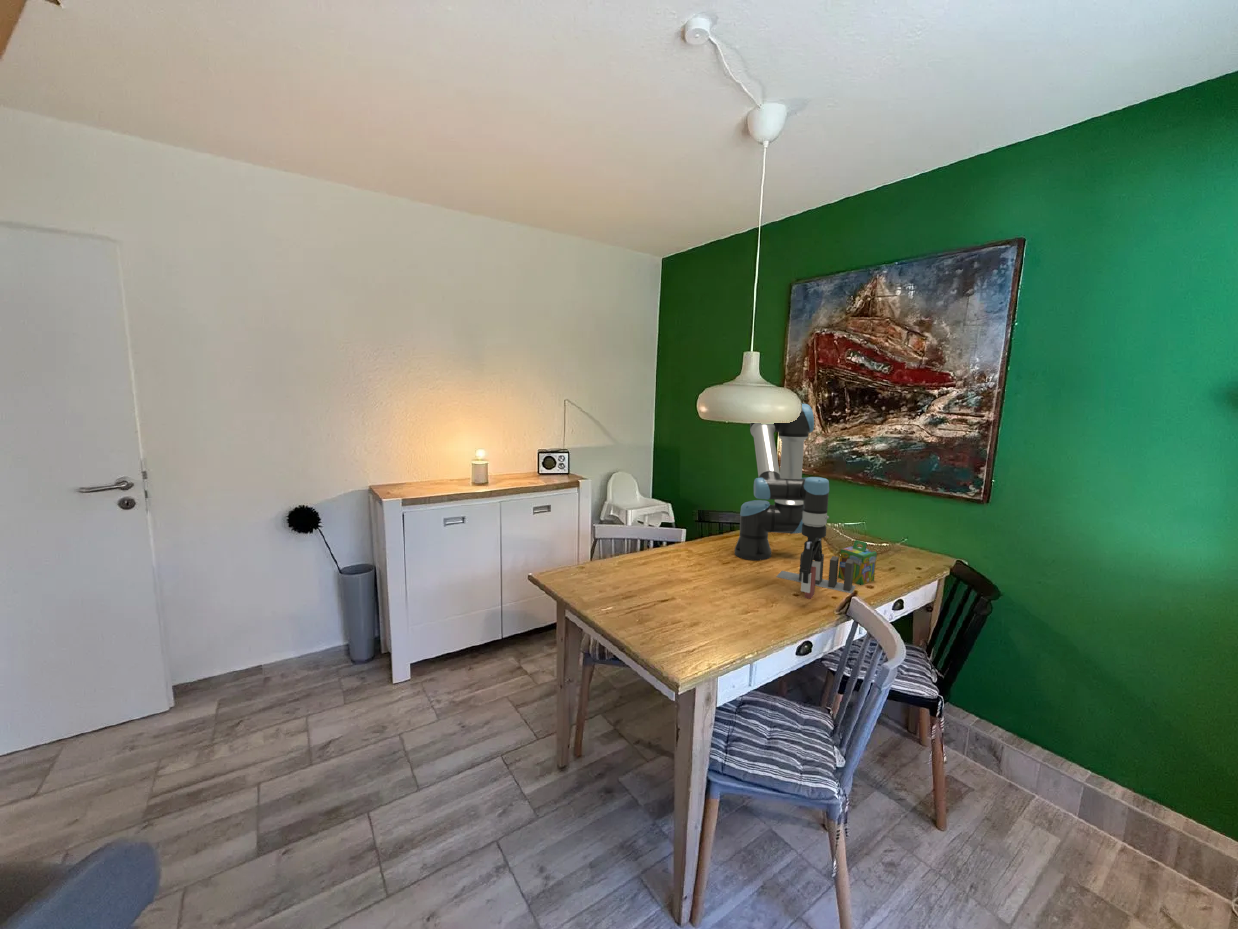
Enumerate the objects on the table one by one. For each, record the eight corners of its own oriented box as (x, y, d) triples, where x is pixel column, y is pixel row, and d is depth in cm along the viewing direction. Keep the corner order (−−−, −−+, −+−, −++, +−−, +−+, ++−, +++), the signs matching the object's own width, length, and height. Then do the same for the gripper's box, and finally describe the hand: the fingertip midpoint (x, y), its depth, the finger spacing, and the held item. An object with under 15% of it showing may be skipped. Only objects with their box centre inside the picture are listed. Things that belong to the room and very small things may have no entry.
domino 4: (828, 586, 168) (830, 559, 167) (830, 582, 172) (832, 555, 171) (834, 588, 167) (836, 560, 165) (836, 583, 171) (838, 557, 170)
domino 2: (804, 598, 159) (806, 570, 157) (808, 593, 163) (810, 566, 162) (810, 600, 158) (812, 571, 156) (814, 595, 162) (816, 567, 160)
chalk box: (837, 578, 177) (840, 540, 175) (851, 573, 182) (854, 536, 180) (861, 587, 169) (864, 547, 167) (875, 581, 174) (878, 543, 172)
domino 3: (813, 583, 171) (815, 556, 169) (816, 579, 175) (818, 553, 174) (819, 584, 170) (820, 558, 168) (822, 580, 174) (824, 554, 172)
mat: (775, 577, 177) (775, 576, 177) (782, 571, 184) (782, 570, 183) (851, 594, 162) (852, 593, 162) (855, 587, 169) (855, 586, 169)
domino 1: (798, 580, 174) (800, 554, 172) (802, 576, 178) (804, 550, 176) (804, 581, 173) (806, 555, 171) (808, 577, 177) (809, 551, 175)
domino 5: (843, 590, 165) (845, 562, 164) (845, 585, 169) (848, 558, 168) (849, 591, 164) (851, 563, 163) (852, 586, 168) (854, 559, 167)
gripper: (817, 534, 144) (813, 600, 147) (834, 518, 165) (830, 577, 167) (792, 530, 149) (788, 594, 151) (811, 515, 169) (807, 572, 172)
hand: (810, 585), depth 159 cm, fingers open, 13 cm apart
